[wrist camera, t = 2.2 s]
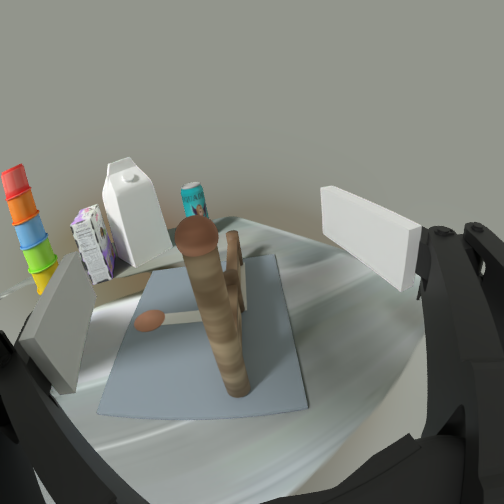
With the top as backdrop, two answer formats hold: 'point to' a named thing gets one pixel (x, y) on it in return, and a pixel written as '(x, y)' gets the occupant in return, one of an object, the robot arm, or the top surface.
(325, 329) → the top surface
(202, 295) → the folding fence panel
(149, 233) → the milk
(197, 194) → the beverage can
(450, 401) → the robot arm
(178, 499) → the top surface
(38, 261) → the stacking cups
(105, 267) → the candy box
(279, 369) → the card
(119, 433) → the top surface
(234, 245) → the fence fixed
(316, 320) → the top surface
